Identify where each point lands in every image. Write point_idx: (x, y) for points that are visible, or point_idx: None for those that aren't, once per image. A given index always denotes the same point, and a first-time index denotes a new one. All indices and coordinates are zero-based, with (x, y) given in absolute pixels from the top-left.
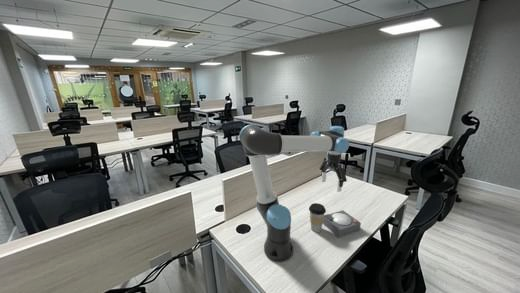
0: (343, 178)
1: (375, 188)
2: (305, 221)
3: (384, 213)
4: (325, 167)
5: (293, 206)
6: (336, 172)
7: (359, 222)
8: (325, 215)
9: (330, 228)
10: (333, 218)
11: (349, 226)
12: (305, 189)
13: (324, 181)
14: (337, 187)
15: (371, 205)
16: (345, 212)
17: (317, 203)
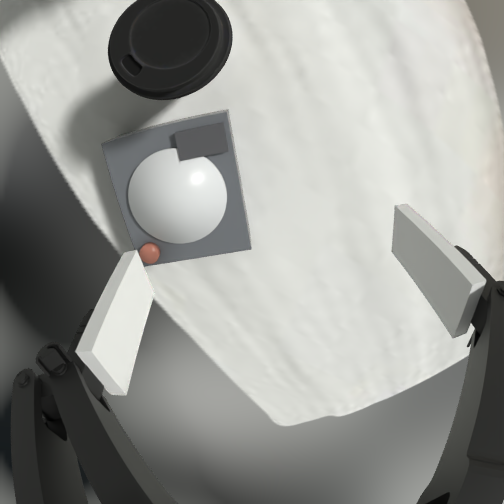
0: (20, 419)
1: (356, 405)
2: (262, 35)
3: (232, 369)
4: (501, 398)
5: (400, 48)
6: (118, 486)
7: (144, 264)
8: (217, 125)
9: (164, 123)
10: (181, 156)
11: (121, 206)
12: (486, 194)
13: (394, 239)
14: (118, 281)
15: (285, 363)
16: (229, 249)
17: (210, 55)
